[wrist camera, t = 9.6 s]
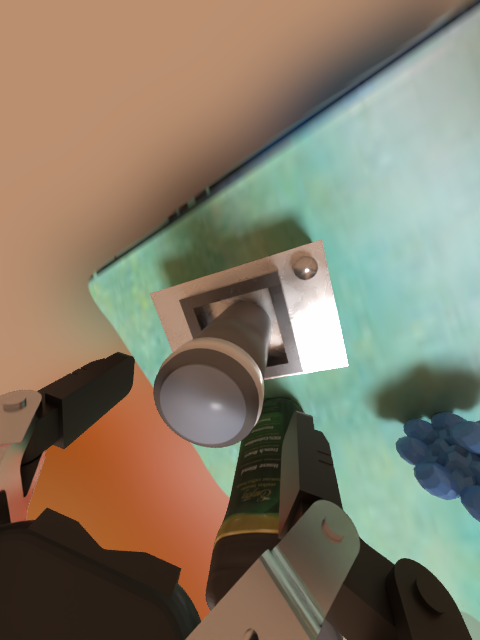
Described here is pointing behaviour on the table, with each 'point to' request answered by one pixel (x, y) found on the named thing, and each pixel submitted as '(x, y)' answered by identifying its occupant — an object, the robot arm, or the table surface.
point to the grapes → (445, 457)
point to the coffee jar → (254, 505)
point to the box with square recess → (266, 308)
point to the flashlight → (217, 379)
